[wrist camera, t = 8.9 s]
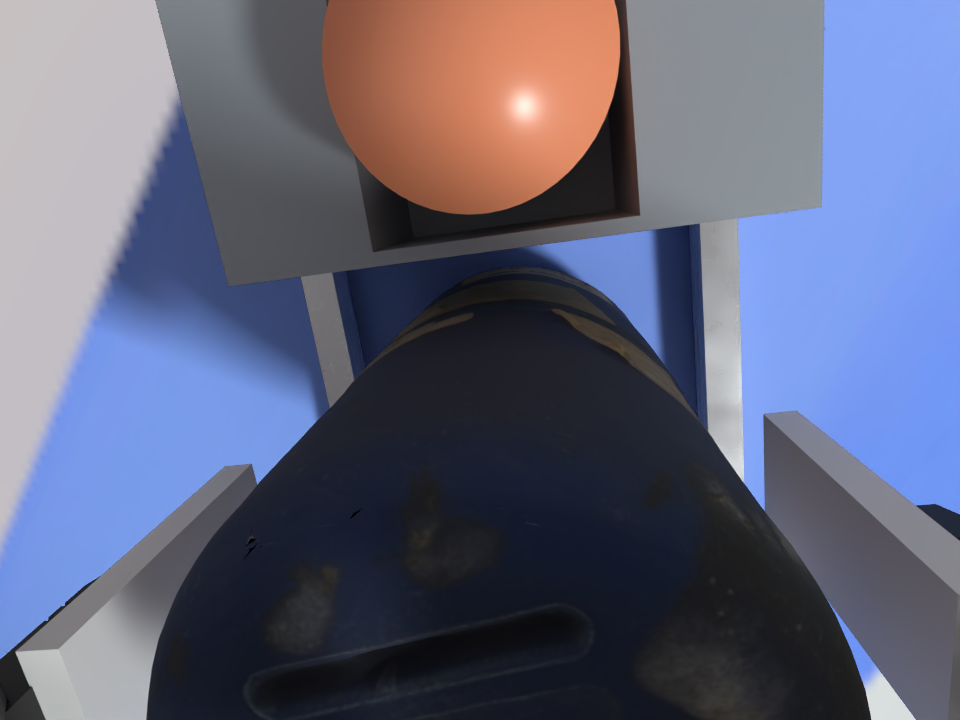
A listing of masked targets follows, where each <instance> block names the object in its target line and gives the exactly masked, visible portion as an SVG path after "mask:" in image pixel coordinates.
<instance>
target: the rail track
mask: <svg viewBox="0 0 960 720" xmlns="http://www.w3.org/2000/svg"><path fill="white" fill-rule="evenodd" d="M689 234H690V256H691V278H692V300H693V323H694V345H695V367H696V389H697V411H698V419H699V420H700V421H701V423H702V424H703V425H704V427H705V428H706V429H707V431H708V432H709V433H710V435H711V436H712V438H713V439H714V441H715V442H716V444H717V445H718V447H719V449H720V450H721V452H722V453H723V454H724V456H725V457H726V459H727V460H728V461H729V463H730V464H731V465H732V467H733V468H734V470H735V471H736V473H737V474H738V476H739V477H740V478H741V480H742V481H743V483H744V458H743V416H742V374H741V332H740V289H739V247H738V218H737V219H729V220H722V221H714V222H707V223H699V224H692V225H689ZM301 281H302V285H303V290H304V294H305V299H306V303H307V308H308V312H309V317H310V321H311V326H312V330H313V335H314V339H315V344H316V348H317V353H318V357H319V362H320V366H321V371H322V375H323V380H324V384H325V389H326V393H327V398H328V402H329V407H330V408H331V407H332V406H333V405H334V403H335V402H336V401H337V400H338V399H339V398H340V397H341V396H342V395H343V394H344V392H345V391H346V389H347V388H348V387H349V385H350V384H351V383H352V382H353V381H354V380H355V379H356V378H357V377H358V376H359V375H360V374H361V372H362V371H363V370H364V369H365V368H366V367H365V362H364V357H363V352H362V347H361V342H360V337H359V332H358V327H357V322H356V317H355V312H354V307H353V302H352V297H351V292H350V287H349V282H348V278H347V273H346V271H341V272H333V273H326V274H319V275H311V276H304V277H301Z"/></svg>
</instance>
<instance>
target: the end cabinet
mask: <svg viewBox="0 0 960 720" xmlns="http://www.w3.org/2000/svg"><path fill="white" fill-rule="evenodd" d="M155 1H156V5H157V9H158V13H159V17H160V20H161V24H162V28H163V32H164V36H165V40H166V44H167V48H168V52H169V56H170V60H171V64H172V67H173V71H174V75H175V79H176V83H177V87H178V91H179V95H180V99H181V103H182V107H183V111H184V114H185V118H186V122H187V126H188V130H189V134H190V138H191V142H192V146H193V150H194V154H195V158H196V161H197V165H198V169H199V173H200V177H201V181H202V185H203V189H204V193H205V197H206V201H207V205H208V208H209V212H210V216H211V220H212V224H213V228H214V232H215V236H216V240H217V244H218V248H219V252H220V255H221V259H222V263H223V267H224V271H225V275H226V279H227V283H228V287H229V286H236V285H244V284H251V283H259V282H266V281H274V280H281V279H289V278H296V277H304V276H311V275H319V274H326V273H333V272H341V271H348V270H356V269H363V268H371V267H378V266H386V265H393V264H401V263H408V262H416V261H423V260H431V259H438V258H445V257H453V256H460V255H468V254H475V253H483V252H490V251H498V250H505V249H513V248H520V247H528V246H535V245H542V244H550V243H557V242H565V241H572V240H580V239H587V238H595V237H602V236H610V235H617V234H625V233H632V232H640V231H647V230H654V229H662V228H669V227H677V226H684V225H692V224H699V223H707V222H714V221H722V220H729V219H737V218H744V217H751V216H759V215H766V214H774V213H781V212H789V211H796V210H804V209H811V208H819V207H822V139H823V63H824V0H614V1H615V5H616V9H617V15H618V22H619V30H620V60H619V69H618V77H617V82H616V86H615V90H614V95H613V99H612V101H611V104H610V107H609V110H608V112H607V115H606V118H605V120H604V122H603V124H602V126H601V128H600V130H599V132H598V134H597V136H596V138H595V139H594V141H593V142H592V144H591V145H590V147H589V148H588V150H587V151H586V153H585V154H584V155H583V157H582V158H581V159H580V160H579V161H578V162H577V164H576V165H575V166H574V167H573V168H572V169H571V170H570V171H569V172H568V173H567V174H566V175H565V176H564V177H563V178H562V179H560V180H559V181H558V182H557V183H556V184H554V185H553V186H552V187H550V188H549V189H547V190H546V191H544V192H543V193H541V194H540V195H538V196H536V197H534V198H532V199H530V200H528V201H526V202H524V203H522V204H519V205H517V206H514V207H511V208H508V209H505V210H500V211H496V212H491V213H484V214H470V215H468V214H452V213H447V212H442V211H437V210H432V209H430V208H427V207H424V206H421V205H418V204H415V203H413V202H411V201H409V200H407V199H405V198H403V197H401V196H400V195H398V194H397V193H395V192H394V191H392V190H391V189H389V188H388V187H386V186H385V185H384V184H383V183H381V182H380V181H379V180H378V179H377V178H376V177H375V176H373V175H372V174H371V173H370V172H369V171H368V170H367V168H366V167H365V166H364V165H363V164H362V163H361V162H360V160H359V159H358V158H357V157H356V155H355V154H354V152H353V151H352V149H351V148H350V146H349V145H348V144H347V142H346V140H345V138H344V136H343V134H342V132H341V131H340V129H339V127H338V125H337V122H336V120H335V117H334V114H333V112H332V109H331V107H330V103H329V99H328V95H327V91H326V87H325V81H324V74H323V66H322V38H323V28H324V20H325V15H326V11H327V6H328V2H329V0H155Z"/></svg>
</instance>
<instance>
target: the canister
mask: <svg viewBox="0 0 960 720" xmlns="http://www.w3.org/2000/svg"><path fill="white" fill-rule="evenodd" d="M146 720H871V716H870V711H869V706H868V701H867V696H866V691H865V688H864V685H863V682H862V679H861V677H860V674H859V671H858V668H857V665H856V662H855V660H854V657H853V654H852V651H851V649H850V646H849V644H848V642H847V640H846V638H845V635H844V633H843V631H842V629H841V626H840V624H839V622H838V620H837V617H836V615H835V613H834V612H833V610H832V608H831V606H830V605H829V603H828V601H827V599H826V598H825V596H824V594H823V592H822V591H821V589H820V587H819V585H818V583H817V582H816V580H815V579H814V577H813V576H812V574H811V573H810V571H809V570H808V568H807V567H806V565H805V564H804V563H803V561H802V560H801V558H800V557H799V555H798V554H797V552H796V551H795V549H794V548H793V546H792V545H791V544H790V542H789V541H788V540H787V539H786V537H785V536H784V535H783V534H782V532H781V531H780V530H779V529H778V527H777V526H776V525H775V524H774V522H773V521H772V520H771V519H770V518H769V516H768V515H767V514H766V513H765V511H764V510H763V509H762V507H761V506H760V505H759V503H758V502H757V501H756V499H755V498H754V497H753V495H752V494H751V492H750V491H749V490H748V488H747V487H746V485H745V484H744V483H743V481H742V480H741V478H740V477H739V476H738V474H737V473H736V471H735V470H734V468H733V467H732V465H731V464H730V463H729V461H728V460H727V459H726V457H725V456H724V454H723V453H722V452H721V450H720V449H719V447H718V445H717V444H716V442H715V441H714V439H713V438H712V436H711V435H710V433H709V432H708V431H707V429H706V428H705V427H704V425H703V424H702V423H701V421H700V420H699V419H698V417H697V416H696V414H695V413H694V411H693V410H692V409H691V407H690V406H689V404H688V402H687V400H686V398H685V396H684V394H683V392H682V390H681V389H680V387H679V386H678V384H677V383H676V381H675V380H674V378H673V377H672V376H671V374H670V373H669V372H668V370H667V369H666V367H665V366H664V364H663V363H662V362H661V360H660V359H659V357H658V356H657V355H656V353H655V352H654V351H653V349H652V348H651V347H650V345H649V344H648V343H647V341H646V340H645V339H644V338H643V337H642V335H641V334H640V333H639V332H638V331H637V330H636V329H635V328H634V326H633V325H632V324H631V322H630V321H629V320H628V318H627V317H626V315H625V314H624V313H623V312H622V311H621V310H620V309H619V308H618V307H617V306H616V305H615V304H614V303H613V302H612V301H611V300H610V299H609V298H608V297H607V296H605V295H604V294H603V293H602V292H600V291H599V290H597V289H596V288H594V287H593V286H591V285H589V284H587V283H585V282H583V281H580V280H578V279H576V278H574V277H572V276H569V275H567V274H564V273H561V272H558V271H555V270H550V269H546V268H539V267H526V266H514V267H505V268H498V269H494V270H490V271H486V272H483V273H480V274H477V275H474V276H472V277H469V278H467V279H465V280H463V281H461V282H460V283H458V284H457V285H455V286H453V287H452V288H450V289H448V290H447V291H446V292H444V293H443V294H442V295H441V296H439V297H438V298H437V299H436V300H435V301H433V302H432V303H431V304H430V305H429V306H428V307H427V308H426V309H425V310H424V311H423V312H422V313H421V314H420V315H419V316H417V317H416V318H415V319H414V320H413V321H412V322H411V323H410V324H409V325H408V326H407V327H406V328H404V329H403V330H401V331H400V332H399V334H398V335H397V336H396V337H395V338H394V339H393V340H392V341H391V342H390V344H389V345H388V346H387V347H386V348H385V350H383V351H382V352H381V353H380V354H379V355H378V356H377V357H376V358H375V359H374V360H373V361H372V362H371V363H370V364H369V365H368V366H367V367H366V368H365V369H364V370H363V371H362V372H361V374H360V375H359V376H358V377H357V378H356V379H355V380H354V381H353V382H352V383H351V384H350V385H349V387H348V388H347V389H346V391H345V392H344V394H343V395H342V396H341V397H340V398H339V399H338V400H337V401H336V402H335V403H334V405H333V406H332V407H331V408H330V409H329V410H328V411H327V412H326V413H325V414H324V415H323V416H322V417H321V418H319V420H318V421H317V422H316V423H315V424H314V425H313V426H312V427H311V428H310V429H309V430H308V431H307V432H306V434H305V435H304V436H303V437H302V438H301V439H300V440H299V441H298V442H297V443H296V444H295V445H294V446H293V447H292V448H291V450H290V451H289V452H288V453H287V454H286V455H285V456H284V457H283V458H282V459H281V460H280V461H279V462H278V463H277V464H276V466H275V467H274V468H273V469H272V470H271V471H270V472H269V473H268V474H267V475H266V476H265V477H264V478H263V479H262V480H261V481H260V482H259V484H258V485H257V486H256V487H255V488H254V490H253V491H252V492H251V493H250V494H249V496H248V497H247V498H246V499H245V500H244V501H243V503H242V504H241V505H240V506H239V507H238V508H237V509H236V510H235V512H234V513H233V514H232V515H231V516H230V517H229V518H228V519H227V520H226V521H225V522H224V524H223V525H222V526H221V527H220V528H219V529H218V531H217V532H216V533H215V534H214V535H213V537H212V538H211V539H210V541H209V542H208V544H207V545H206V546H205V548H204V549H203V551H202V552H201V554H200V555H199V556H198V558H197V560H196V561H195V563H194V564H193V566H192V568H191V570H190V571H189V573H188V575H187V576H186V578H185V580H184V581H183V583H182V585H181V587H180V589H179V590H178V592H177V594H176V597H175V599H174V601H173V604H172V606H171V608H170V611H169V613H168V616H167V618H166V621H165V624H164V626H163V629H162V631H161V634H160V636H159V639H158V643H157V648H156V652H155V656H154V660H153V665H152V670H151V678H150V685H149V693H148V703H147V716H146Z"/></svg>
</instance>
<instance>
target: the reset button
mask: <svg viewBox="0 0 960 720" xmlns="http://www.w3.org/2000/svg"><path fill="white" fill-rule="evenodd" d="M619 60H620V30H619V22H618V15H617V9H616V5H615V1H614V0H329V2H328V6H327V11H326V15H325V20H324V28H323V38H322V66H323V74H324V81H325V87H326V91H327V95H328V99H329V103H330V107H331V109H332V112H333V114H334V117H335V120H336V122H337V125H338V127H339V129H340V131H341V132H342V134H343V136H344V138H345V140H346V142H347V144H348V145H349V146H350V148H351V149H352V151H353V152H354V154H355V155H356V157H357V158H358V159H359V160H360V162H361V163H362V164H363V165H364V166H365V167H366V168H367V170H368V171H369V172H370V173H371V174H372V175H373V176H375V177H376V178H377V179H378V180H379V181H380V182H381V183H383V184H384V185H385V186H386V187H388V188H389V189H391V190H392V191H394V192H395V193H397V194H398V195H400V196H401V197H403V198H405V199H407V200H409V201H411V202H413V203H415V204H418V205H421V206H424V207H427V208H430V209H432V210H437V211H442V212H447V213H452V214H468V215H470V214H484V213H491V212H496V211H500V210H505V209H508V208H511V207H514V206H517V205H519V204H522V203H524V202H526V201H528V200H530V199H532V198H534V197H536V196H538V195H540V194H541V193H543V192H544V191H546V190H547V189H549V188H550V187H552V186H553V185H554V184H556V183H557V182H558V181H559V180H560V179H562V178H563V177H564V176H565V175H566V174H567V173H568V172H569V171H570V170H571V169H572V168H573V167H574V166H575V165H576V164H577V162H578V161H579V160H580V159H581V158H582V157H583V155H584V154H585V153H586V151H587V150H588V148H589V147H590V145H591V144H592V142H593V141H594V139H595V138H596V136H597V134H598V132H599V130H600V128H601V126H602V124H603V122H604V120H605V118H606V115H607V112H608V110H609V107H610V104H611V101H612V99H613V95H614V90H615V86H616V82H617V77H618V69H619Z"/></svg>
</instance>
